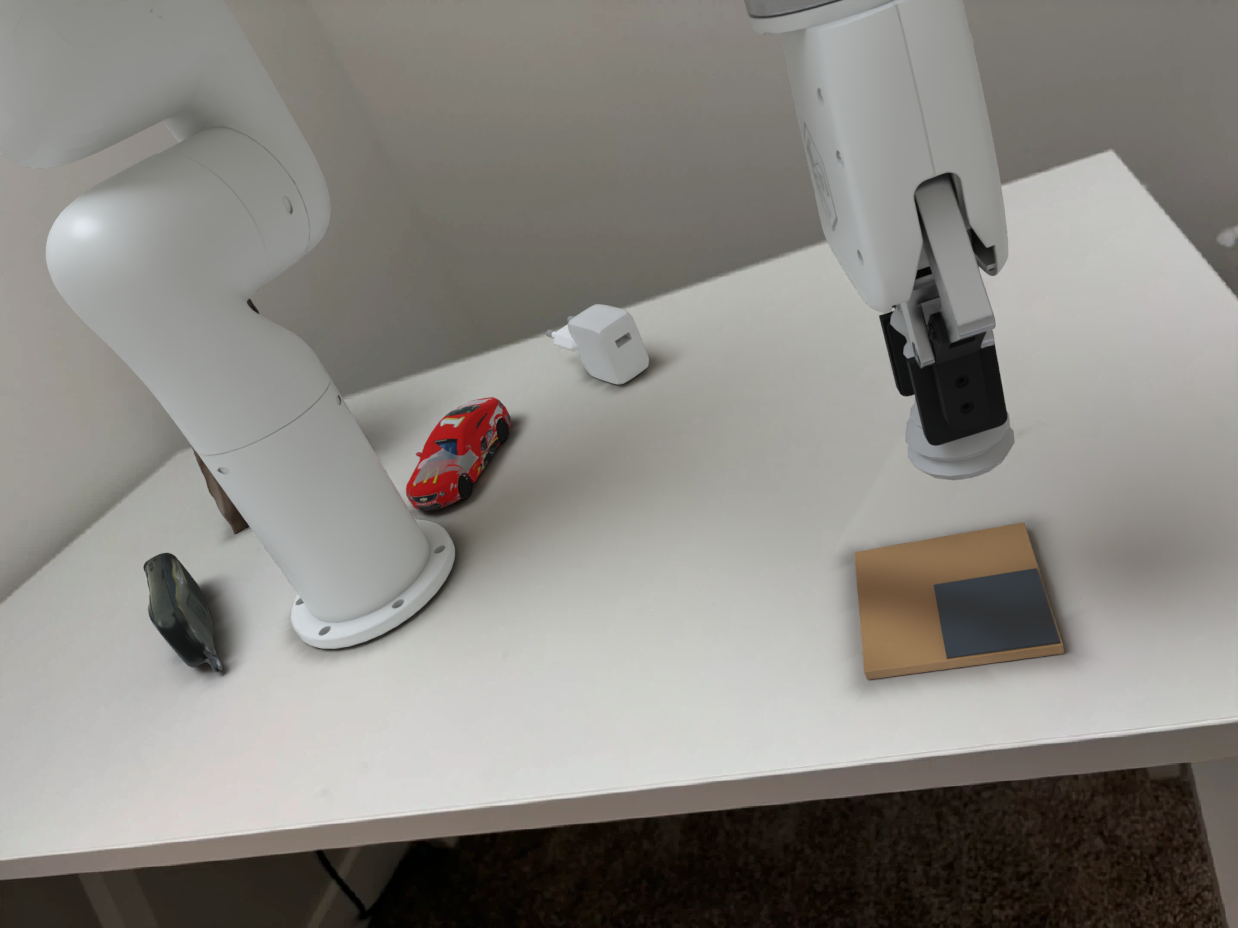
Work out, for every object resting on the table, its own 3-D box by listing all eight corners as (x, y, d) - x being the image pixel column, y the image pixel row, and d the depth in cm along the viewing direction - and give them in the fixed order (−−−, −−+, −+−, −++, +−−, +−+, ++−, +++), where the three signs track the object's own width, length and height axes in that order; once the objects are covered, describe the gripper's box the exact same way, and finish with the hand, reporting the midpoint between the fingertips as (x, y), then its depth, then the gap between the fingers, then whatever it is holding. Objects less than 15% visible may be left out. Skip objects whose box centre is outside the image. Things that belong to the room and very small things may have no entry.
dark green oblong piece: (133, 562, 76) (151, 641, 64) (168, 541, 77) (192, 614, 65) (170, 607, 79) (194, 691, 66) (203, 586, 80) (233, 665, 67)
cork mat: (856, 559, 54) (853, 549, 53) (1025, 530, 51) (1023, 518, 50) (866, 680, 46) (863, 669, 46) (1064, 653, 44) (1062, 641, 43)
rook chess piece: (889, 454, 43) (849, 299, 39) (975, 411, 43) (943, 253, 39) (946, 499, 39) (908, 331, 35) (1040, 451, 40) (1012, 280, 36)
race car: (459, 516, 74) (436, 475, 72) (404, 521, 76) (380, 482, 74) (524, 418, 83) (505, 380, 81) (473, 425, 86) (454, 389, 84)
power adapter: (552, 369, 90) (527, 315, 87) (591, 343, 92) (568, 289, 89) (617, 393, 81) (592, 333, 78) (659, 363, 83) (637, 304, 80)
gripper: (715, -33, 39) (824, 352, 48) (781, 21, 25) (918, 552, 34) (897, -109, 37) (973, 302, 46) (1078, -96, 23) (1135, 489, 32)
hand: (949, 403), depth 40 cm, fingers closed on rook chess piece, 3 cm apart
